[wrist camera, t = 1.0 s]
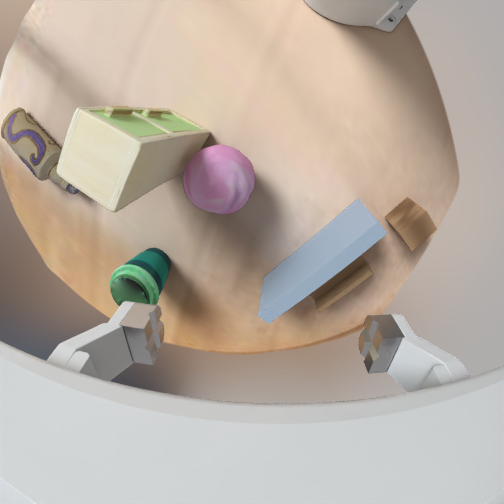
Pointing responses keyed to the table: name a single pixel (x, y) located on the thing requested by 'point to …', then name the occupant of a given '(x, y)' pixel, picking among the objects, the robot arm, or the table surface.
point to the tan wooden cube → (411, 223)
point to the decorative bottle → (34, 147)
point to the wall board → (323, 264)
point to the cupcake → (219, 179)
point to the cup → (141, 278)
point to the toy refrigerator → (126, 151)
